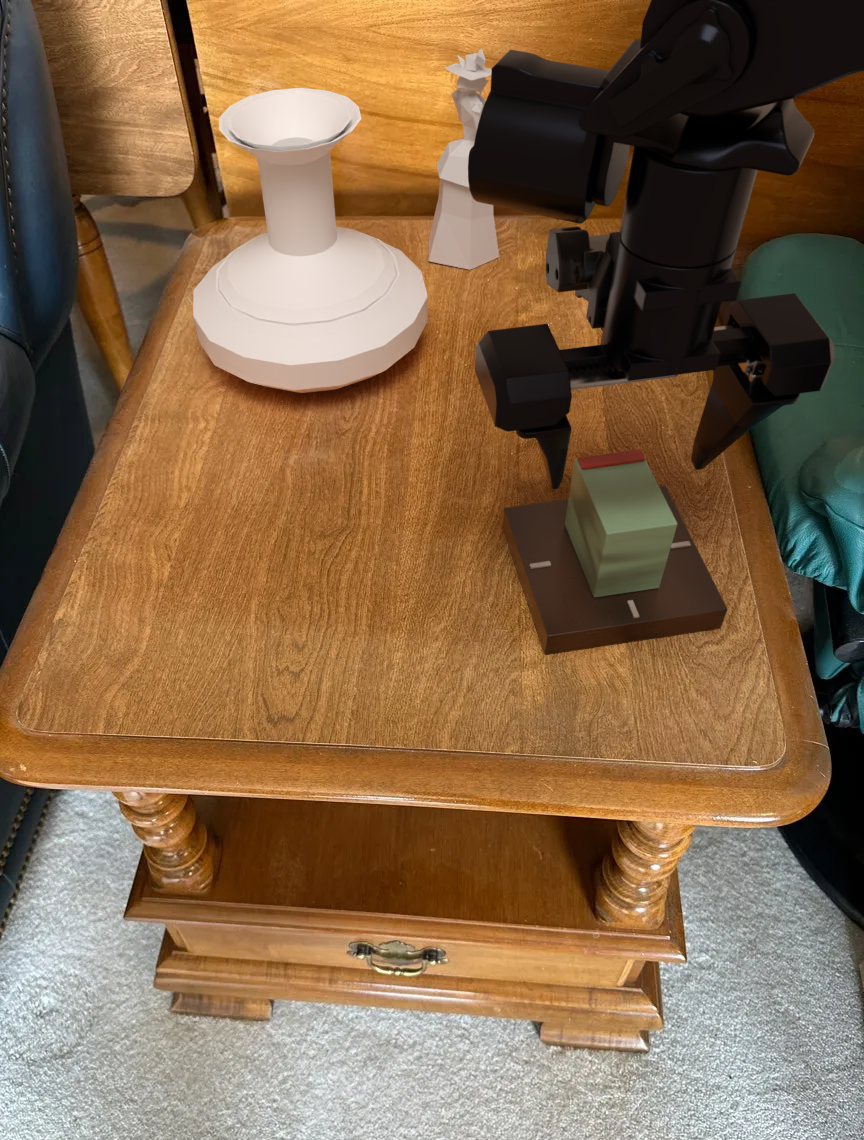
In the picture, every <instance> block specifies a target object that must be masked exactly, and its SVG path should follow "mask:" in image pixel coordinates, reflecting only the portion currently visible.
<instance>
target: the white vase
mask: <svg viewBox="0 0 864 1140" xmlns="http://www.w3.org/2000/svg"><path fill="white" fill-rule="evenodd" d="M361 120H362V115H361V110H360V106H358V104H357V103H355V102H354V101H353V100H352V99H350V98H349V97H348V96H347V95H344V94H340V93H337V92H333V91H330V90H327V89H317V88H307V87H292V88H282V89H281V88H280V89H272V90H268V91H264V92H260V93H256V94H252V95H247V96H246V97H244V98H242V99H241V100H238V101H237V102H234V103H233V104H231V105H229V106H228V107H227V108H226V110H224V112H223V113H221V115H220V116H219V117H218V131H220V133H221V134H222V135H223V136H224V137H225V138H226V139H227V140H228V142H230V143H232V144H234V145H235V146H237V147H239V148H241V149H242V150H244V151H246V152H248V153H249V154H251V155H253V156H254V157H256V159H257V166H258V172H259V179H260V180H259V181H260V187H261V188H260V189H261V194H262V201H263V209H264V215H265V222H266V230H267V231H266V232H264V233H260V234H258V235H257V236H254V237H252V238H250V239H249V240H248V241H246V242H244V243H242V244H241V245H239V246H238V247H237V248H235V249H234V250H231V252H229V253H228V254H227V255H226V256H225V257H224V258H223V259H221V260H219V261H218V262H216V263H215V264H213V266H212V267H210V269H209V270H208V272H206V274H205V275H204V276H203V278H201V280H200V282H199V283H198V284H197V285H196V287H195V288H194V289H193V295H192V296H193V298H192V299H193V301H192V302H193V303H192V315H193V316H192V318H193V322H194V327H195V331H196V335H197V341H198V342H199V344H200V345H201V348H202V349H203V350H204V352H205V353H206V354H207V356H208V358H209V359H210V362H212V364H213V365H214V366H215V367H217V368H219V369H221V370H223V371H225V372H227V373H229V374H231V375H233V376H235V377H238V378H239V379H241V380H244V381H245V382H248V383H250V384H255V385H257V386H258V385H259V386H263V387H266V388H271V389H277V390H284V391H288V392H293V393H299V394H303V393H305V394H306V393H314V392H315V393H316V392H324V391H334V390H338V389H342V388H344V387H347V386H350V385H354V384H357V383H360V382H362V381H365V380H368V379H370V378H372V377H375V376H377V375H379V374H381V373H383V372H385V371H387V370H388V369H389V368H390V367H392V366H393V365H394V364H396V362H398V361H399V360H401V359H402V358H403V357H404V356H406V355H407V354H408V353H409V352H411V351H412V350H413V349H414V348H415V347H416V345H417V343H418V341H419V339H420V337H421V335H422V333H423V331H424V329H425V327H426V326H427V323H428V320H429V317H428V316H429V315H428V313H429V312H428V311H429V310H428V307H429V306H428V305H429V303H428V300H429V298H428V291H427V288H426V284H425V281H424V276H423V273H422V270H421V269H420V268H419V267H418V266H417V265H416V264H415V263H414V262H413V261H412V260H411V259H410V258H409V257H408V256H407V255H406V254H405V253H404V252H403V251H402V250H401V249H399V248H397V247H394V246H392V245H390V244H388V243H386V242H384V241H383V240H381V239H379V238H377V237H374V236H372V235H368V234H367V233H364V232H361V231H359V230H356V229H353V228H348V227H343V226H337V223H336V222H337V220H336V208H335V207H336V206H335V196H334V183H333V172H332V171H333V170H332V157H331V150H333V149H334V148H335V147H336V146H337V145H339V143H341V142H342V141H343V140H344V139H345V138H346V137H347V136H348V135H350V134H351V133H352V132H353V131H354V130H355V128H356V127H357V126H358V124H359V123H360V122H361Z"/></svg>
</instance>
